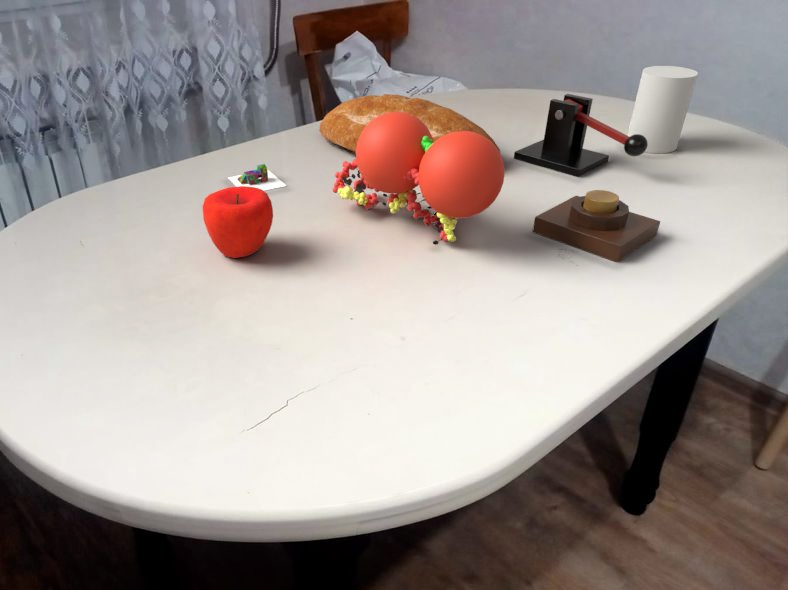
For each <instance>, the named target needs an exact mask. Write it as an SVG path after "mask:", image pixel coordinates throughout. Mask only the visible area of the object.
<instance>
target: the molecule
mask: <svg viewBox="0 0 788 590" xmlns="http://www.w3.org/2000/svg"><path fill="white" fill-rule="evenodd" d="M498 148H499V147H498ZM498 148H497V147H496V146H495V145H494V144H493V143H492V141H490V140H489V139H487V138H486V137H485V136H482V135H480V134H478V133H475V132H470V131H459V132H452V133H449V134H447V135H444V136H442V137H441V138H439V139H438V140H436V141H435V142H434V141H433V138H432V135H431V133H430V131H429V129H428V128H427V127H426V125H425V124H424V123H423V122H422V121H421V120H419V119H418V118H416V117H415V116H413V115H410V114H408V113H404V112H389V113H385V114H383V115H380V116H378V117H376V118H375V119H373V120H372V121H370V122H369V124H368V125H367V126H366V127H365V128H364V130H363V131H362V133H361V135H360V137H359V140H358V142H357V147H356V153H355V158H354V159H353V160H351V161H352V162H350V161H349V162H348V161H346V160H343V162H342V163H341V165H342V169H341V170H342V171H336V172H335V173H334V177H335V178H336V179H335V182H334V183H333V187H332V192H333V193H334V194H339V195H340V198H341V199H342V200H351V201H354V200H355V202H356V205H357V206H359V207H360V206H363V207H364V208H365V210H367V211H370V210H371V208H372V207H375V206H377V205H378V203H382V205H383V206H384V207H386V206H387V205H388V208H389V210H390V213H391V214H396V213H399V211H400V210H401V208H404V207H406V210H408V211H409V212H414V213H413V215H412V216H413V218H414V219H416V220H419V218H423V223H424V225H425V226H426V227H430V226H431V224H433V227H434V228H435V230H436V231H437V233H439V236H440V237H439V238H440V239H439V240H433V241H432V244H433V245H434V246H435V245H438V244H439V242H440V241H443V242H444V243H448V242H451V243H454V242H455V241H456V240H457V237H456V235H455V234H454V231H453V230H455V228H456V224H457V222H458V220H457V219H466V218H471V217H474V216H476V215H479V214H481V213H482V212H484V211H485V210H487V209H488V208H490V206H492V204H493V203H494V202H495V201H496V199H497V198H498V196H499V195H500V193H501V191H502V188H503V185H504V180H505V171H506V169H505V165H504V160H503V156H502V154H501V151H500V152H499V150H498ZM350 170H351V171H354V170H357V174H356V175H355V174H354V173H352V174H351V176H350ZM356 176H357V177H356ZM356 178H358V179H356ZM352 179H353V180H354V181H353V180H352ZM355 179H356V180H355ZM352 184H353V186H352ZM351 186H352V187H351ZM418 186H419V190H420V192H418V193H417V190H415V189H416V187H418ZM366 189H369V190H374V192H372V193H371V194H370V193H368V194H366V192H365V190H366ZM379 192H381V193H382V196H383V197H385V198H388V199H387V201H386V202H387V203H386V202H385V201H380V200H379V199H378V194H377V193H379ZM387 194H389V195H387ZM418 195H421V198H423V199H421V200H420V201H416V200H417V199H418ZM424 201H425V202H426V204H427V205H428V206H427V207H426V209H425V208H424V209H422V204H421V203H422V202H424ZM431 209H432V210H434V211H435V212H434V213H433V214H431V212H430V210H431Z"/></svg>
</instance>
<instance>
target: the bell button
mask: <svg viewBox="0 0 788 590" xmlns="http://www.w3.org/2000/svg"><path fill="white" fill-rule="evenodd" d="M584 196H585V200H584V205H583V208H585V209H586V210H588V211H591V212H594V213H604V214H607V213H614V212H616V209H617V205H618V201H619V200H620V196H619V195H618V194H616V193H615V192H613V191H610V190H605V189H604V190H603V189H593V190H589V191H587V192H586V193H585V195H584Z"/></svg>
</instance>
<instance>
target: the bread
mask: <svg viewBox="0 0 788 590" xmlns="http://www.w3.org/2000/svg"><path fill="white" fill-rule="evenodd" d="M389 112H404V113H408V114H410V115H413V116H415V117H416V118H418V119H419V120H421V121H422V122H423V123H424V124H425V125H426V127H427V128H428V129H429V131H430V133H431V135H432V138H433V141H434V142H435V141H436V140H438V139H439V138H441V137H442V136H444V135H447V134H449V133H452V132H459V131H470V132H475V133H478V134H480V135H482V136H485V137H486V138H487V139H489V140H490V141H492V143H493V144H494V145H495V146H496V147H497V148H498V150H499V152H500V153H501V150H500V148H499V146H498V144H497V143H496V141H495V140H494V139H493V138H492V137H491V136H490V134H489V133H487V131H486V130H485V129H484V128H482V127H481V126H479V125H478V124H476V123H475V122H473V121H472V120H471V119H468V118H467V117H466V116H464V115H463V114H460V113H458V112H457V111H455V110H453V109H452V108H448V107H446V106H442V105H439V104H437V103H435V102H432V101H430V100H427V99H423V98H419V97H413V98H411V97H408V96H404V95H401V94H391V93H389V94H387V93H383V94H382V95H374V94H369V95H362V96H358V97H355V98H351V99H348V100H345V101H343V102H341V103H340V104H339V105H337V106H336V107H334V108H333V109H332V110H330V111H329V112H327V113H326V114H325V116H324V117H323V119H322V120H321V122H320V124H319V128H318V130H319V133H320V134H321V136H322V137H323V138H324V139H326V140H327V141H328V142H330V143H332V144H334V145H337V146H340V147H342V148H344V149H346V150H348V151H350V152H353V153H354V154H356V147H357V142H358V140H359V137H360V135H361V133H362V131H363V130H364V128H365V127H366V126H367V125H368V124H369V122H370V121H372V120H373V119H375V118H376V117H378V116H380V115H383V114H385V113H389Z"/></svg>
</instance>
